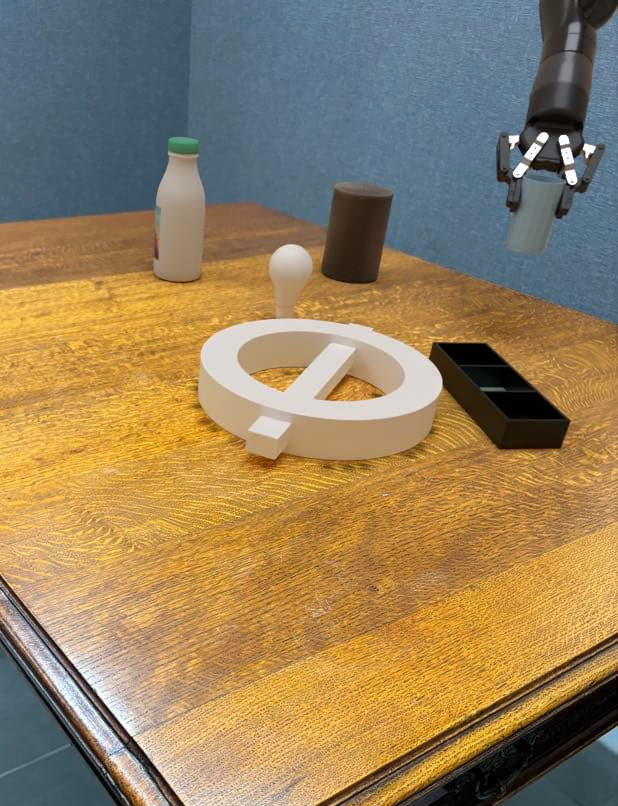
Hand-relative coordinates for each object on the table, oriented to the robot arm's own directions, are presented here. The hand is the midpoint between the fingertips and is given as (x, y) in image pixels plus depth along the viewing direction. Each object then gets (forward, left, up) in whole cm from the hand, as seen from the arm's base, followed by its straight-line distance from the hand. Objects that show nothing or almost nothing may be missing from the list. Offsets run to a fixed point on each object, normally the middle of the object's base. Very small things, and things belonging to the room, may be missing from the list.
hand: (536, 211), depth 107 cm
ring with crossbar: (+33, +19, -18) cm, 42 cm away
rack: (+11, +20, -18) cm, 29 cm away
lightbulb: (+31, -6, -18) cm, 36 cm away
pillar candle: (+14, -29, -18) cm, 37 cm away
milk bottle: (+44, -26, -18) cm, 54 cm away
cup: (-1, -2, -5) cm, 6 cm away
